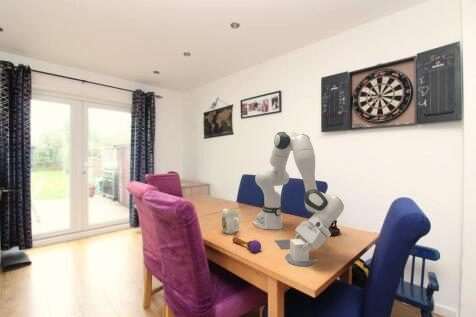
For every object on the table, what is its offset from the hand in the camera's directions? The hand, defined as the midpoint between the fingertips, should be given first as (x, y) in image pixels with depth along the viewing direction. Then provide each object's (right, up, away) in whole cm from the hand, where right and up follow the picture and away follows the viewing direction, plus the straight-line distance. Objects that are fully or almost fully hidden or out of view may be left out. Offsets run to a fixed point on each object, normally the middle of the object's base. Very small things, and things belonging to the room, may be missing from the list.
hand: (297, 246), depth 110 cm
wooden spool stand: (+29, -6, +38) cm, 48 cm away
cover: (+1, -6, 0) cm, 6 cm away
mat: (0, -6, +18) cm, 19 cm away
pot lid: (+1, -6, 0) cm, 6 cm away
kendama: (-24, -7, +15) cm, 29 cm away
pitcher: (-33, -6, +39) cm, 51 cm away
